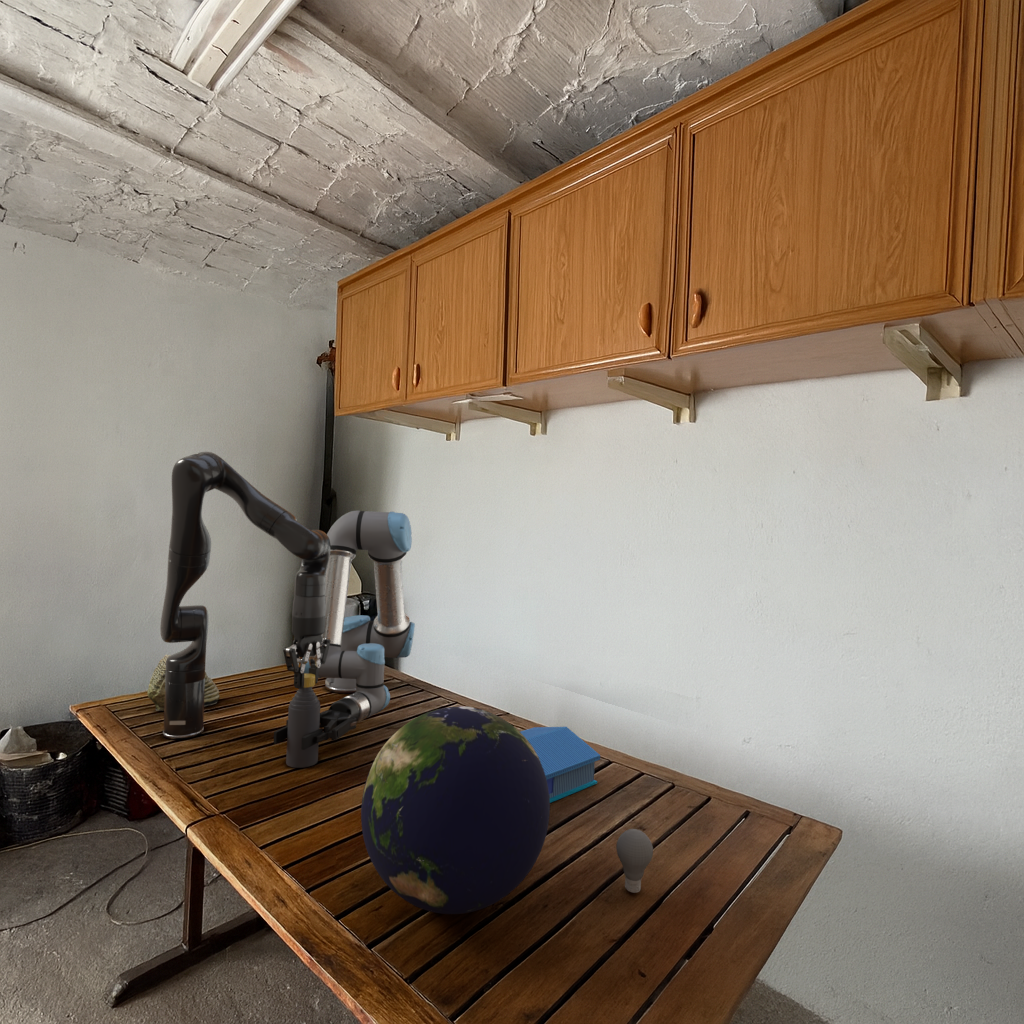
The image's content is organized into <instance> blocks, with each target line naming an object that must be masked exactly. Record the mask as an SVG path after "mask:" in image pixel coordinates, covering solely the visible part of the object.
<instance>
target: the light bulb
mask: <svg viewBox="0 0 1024 1024" xmlns="http://www.w3.org/2000/svg"><path fill="white" fill-rule="evenodd" d="M615 849H616V854H617V857H618V859H619V861H620V863H621V865H622V867H623V873H624V874H623V875H624V876H625V878H624V888H625V890H627V891H628V892H630V893H634V894H635V893H639V892H640V891H641V889H642V887H641V886H642V879H643V877H644V875H645V871H646V868H647V867H648V866H649V864H650V863H651V861H652V859H653V855H654V847H653V843H652V841H651V838H649V836H648V835H647V834H646V833H645V832H643V831H642V830H641V829H636V828H629V829H627V830H625V831H623V832H622V833H621V834H620V835H619V837H618V839H617V841H616V847H615Z"/></svg>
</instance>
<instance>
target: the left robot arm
mask: <svg viewBox="0 0 1024 1024" xmlns="http://www.w3.org/2000/svg"><path fill="white" fill-rule="evenodd" d="M212 490H217V491H219V492H221V493H223V494H225V495H226V496H228V497H230V498H231V499H232V500H234V501H235V503H236V504H237V505H238V506H239V508H240V509H241V511H242V512H243V514H244V515H245V517H246V519H247V520H248V521H249V522H250V523H251V524H252V525H253V526H255V527H256V528H258V529H259V530H261V531H262V532H264V533H266V534H267V535H269V536H270V537H272V538H273V539H275V540H276V541H278V542H279V544H281V545H282V546H283V547H284V548H285V549H286V550H287V551H289V552H290V553H291V554H292V555H293V556H295V557H296V558H299V559H300V567H299V570H298V571H297V572H296V573H295V576H294V577H295V578H294V594H293V601H292V615H291V616H292V617H291V633H292V635H293V637H294V638H293V641H292V644H291V645H290V646H289V647H287V646H285V647H284V648H283V650H282V651H283V656H284V660H285V665H286V670H287V671H288V672H293V686H294V688H295V689H298V690H299V689H302V688H304V673H303V672H304V670H305V665H306V663H308V659H309V665H310V668H309V673H310V674H314V675H315V685H316V684H318V682H319V681H318V680H319V678H318V674H319V668H320V666H321V664H325V662H326V658H327V654H328V650H329V646H330V642H331V641H330V639H323V638H322V634H323V633H324V632H325V615H326V600H325V588H326V572H327V568H328V563H329V558H330V550H331V545H330V540H329V537H328V536H327V533H326V532H325V531H323V530H321V529H310V528H308V527H306V526H305V525H303V524H302V523H300V522H299V521H298V519H297V517H296V516H295V515H294V514H292V512H290V511H288V510H287V509H285V508H284V507H282V506H281V505H279V504H278V503H276V502H274V501H273V500H271V498H268V497H267V496H266V495H264V494H263V493H262V492H260V491H259V490H258V489H257V488H256V487H254V486H253V485H252V484H251V483H250V482H249V481H248V480H246V479H245V477H244V476H242V475H241V474H240V473H238V471H237V470H236V469H234V468H233V467H232V466H231V465H230V464H229V463H228V462H227V461H226V460H225V459H223V458H222V457H221V456H219V455H218V454H216V453H214V452H212V451H199V452H196V453H194V454H190V455H187V456H184V457H182V458H180V459H178V460H177V461H176V462H175V463H174V465H173V467H172V471H171V503H172V505H171V507H172V508H171V523H170V525H171V527H170V538H169V545H168V556H167V572H166V573H167V575H166V586H165V587H166V588H165V594H164V600H163V604H162V611H161V618H160V626H159V631H160V637H161V640H162V641H163V642H164V643H169V644H176V643H177V644H178V643H189V642H191V643H190V644H189V645H188V646H187V647H186V648H184V649H182V650H180V651H179V652H178V651H177V652H175V653H173V654H170V655H171V656H169V657H168V658H167V660H166V674H165V705H164V710H163V731H162V737H164V738H166V739H169V740H185V739H190V738H191V739H192V738H194V737H197V736H199V735H202V734H203V732H204V730H205V729H204V726H205V725H204V722H205V721H204V718H205V706H204V693H205V672H206V664H207V663H206V660H207V659H206V658H207V657H206V656H207V642H208V641H207V640H208V631H209V611H208V609H207V607H206V606H205V605H202V604H201V605H199V604H198V605H197V604H195V605H181V603H182V600H183V599H184V597H185V596H186V594H187V593H188V592H189V590H190V589H191V588H192V587H193V586H195V584H196V583H197V582H198V581H199V580H200V578H201V577H202V576H203V575H204V574H205V573H206V571H207V570H208V567H209V565H210V560H211V552H212V539H211V538H212V537H211V534H210V532H209V530H208V529H207V526H206V525H205V523H204V519H203V514H202V513H203V504H204V499H205V495H206V493H207V492H211V491H212ZM321 653H323V655H322V658H321Z"/></svg>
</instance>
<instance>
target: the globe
mask: <svg viewBox="0 0 1024 1024" xmlns="http://www.w3.org/2000/svg"><path fill="white" fill-rule="evenodd" d="M462 706H463V707H458V706H448V707H442V708H436V709H434V710H431V711H427V712H424V713H422V714H420V715H419V716H417V717H415V718H413V719H411V720H410V721H408V722H407V723H405V724H404V725H402V727H400V728H398V730H397V731H396V732H394V734H392V736H391V737H390V738H388V740H387V741H386V742H385V743H384V745H383V746H382V747H381V748H380V750H379V752H378V753H377V755H376V757H375V759H374V760H373V763H372V765H371V767H370V769H369V772H368V773H367V777H366V780H365V784H364V787H363V790H362V791H363V792H362V796H361V797H362V798H361V807H360V819H361V821H360V823H361V831H362V836H363V837H362V838H363V841H364V842H363V843H364V845H365V849H366V852H367V854H368V857H369V859H370V861H371V864H372V865H373V867H374V869H375V870H376V872H377V874H378V875H379V877H380V878H381V879H382V880H383V882H384V883H385V884H386V885H387V887H389V889H390V890H392V891H393V892H394V893H395V894H396V895H397V896H398V897H400V898H401V899H402V900H404V901H405V902H407V903H409V904H410V905H412V906H414V907H417V908H419V909H421V910H423V911H428V912H430V913H436V914H441V915H463V914H468V913H474V912H477V911H481V910H483V909H486V908H488V907H490V906H492V905H494V904H496V903H499V901H501V900H502V899H504V898H505V897H507V896H508V895H509V894H511V893H512V892H513V891H514V890H515V889H516V888H517V887H518V886H519V885H520V884H522V882H524V879H525V878H526V877H527V876H528V875H529V873H530V872H531V870H532V869H533V867H534V865H535V864H536V862H537V860H538V858H539V856H540V854H541V852H542V849H543V847H544V844H545V842H546V838H547V833H548V828H549V825H550V824H549V823H550V814H551V803H550V798H549V789H548V784H547V780H546V776H545V773H544V770H543V767H542V765H541V762H540V759H539V757H538V755H537V754H536V752H535V750H534V749H533V747H532V745H531V744H530V743H529V742H528V740H527V739H526V738H525V737H524V736H523V735H522V734H521V733H520V731H519V730H518V729H517V728H516V727H515V726H514V725H513V724H511V723H510V722H508V721H507V720H506V719H504V718H502V717H500V716H499V715H496V714H494V713H492V712H489V711H487V710H484V709H481V708H477V707H473V706H464V705H462Z"/></svg>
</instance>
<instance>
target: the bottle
mask: <svg viewBox="0 0 1024 1024" xmlns="http://www.w3.org/2000/svg"><path fill="white" fill-rule="evenodd" d="M314 691H315V690H314V689H313V686H312V687H307V688H302V689H298V690H296V693H294V696H293V697H292V699H291V700H290V701H289V705H288V709H287V710H288V713H287V720H288V731H287V739H286V754H285V755H286V756H285V764H286V765H287V766H288V767H291V768H294V769H295V768H296V769H299V768H300V769H302V768H308V767H312V766H314V765H316V764H318V762H319V746H320V742H319V743H316V744H314V745H313V746H311V747H309V748H307V749H305V750H302V749H301V746H302V737H304V736H306V735H308V734H310V733H312V732H314V731H316V730H318V729H320V728H319V725H320V713H321V703H320V699H319V697H318V696H317V693H316V692H314Z"/></svg>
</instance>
